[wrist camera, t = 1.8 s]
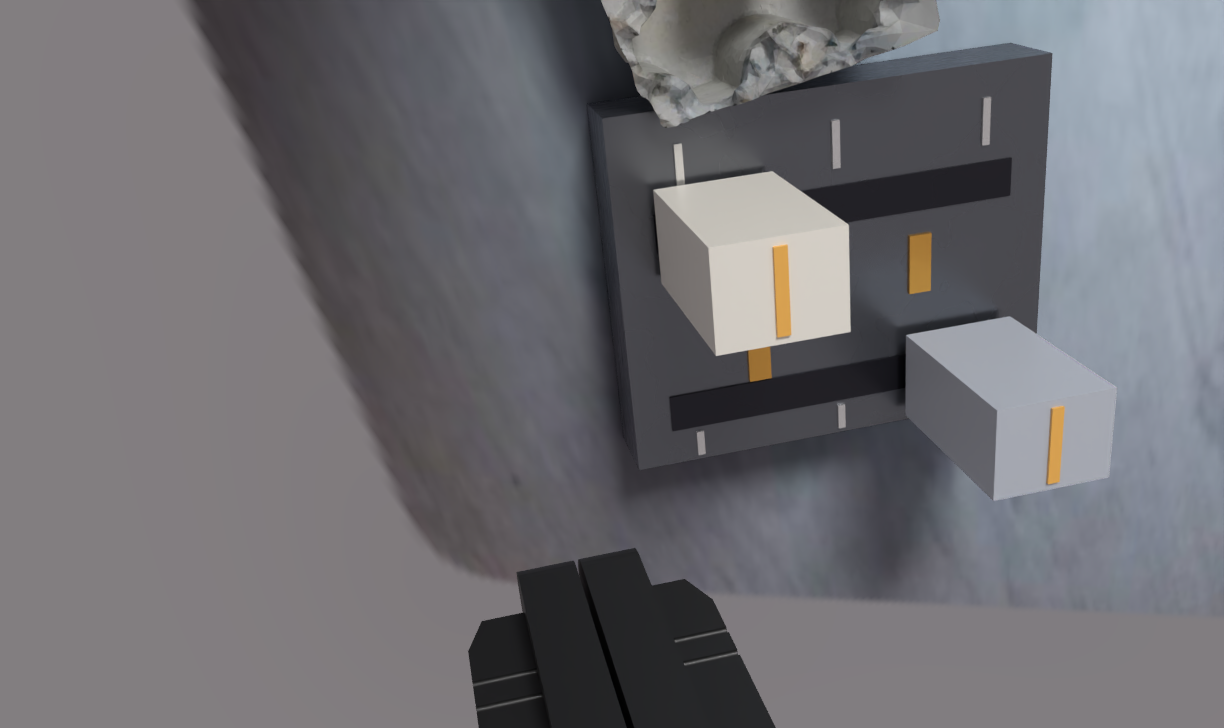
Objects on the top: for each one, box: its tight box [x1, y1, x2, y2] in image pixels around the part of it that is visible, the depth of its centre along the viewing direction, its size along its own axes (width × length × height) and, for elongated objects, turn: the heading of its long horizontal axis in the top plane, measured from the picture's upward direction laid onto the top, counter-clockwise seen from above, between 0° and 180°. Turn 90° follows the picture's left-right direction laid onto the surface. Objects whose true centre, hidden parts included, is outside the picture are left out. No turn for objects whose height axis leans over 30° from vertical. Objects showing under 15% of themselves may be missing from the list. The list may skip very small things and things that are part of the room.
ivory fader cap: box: [653, 171, 851, 356], centre depth 26 cm, size 2×3×5 cm
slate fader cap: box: [905, 316, 1117, 501], centre depth 29 cm, size 2×3×5 cm
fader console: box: [587, 43, 1052, 470], centre depth 30 cm, size 10×12×2 cm
